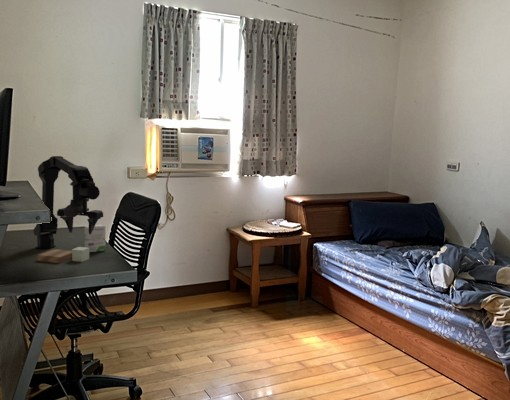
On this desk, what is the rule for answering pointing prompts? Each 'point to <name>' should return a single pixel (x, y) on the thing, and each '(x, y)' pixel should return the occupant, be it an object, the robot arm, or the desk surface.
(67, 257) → the walnut block
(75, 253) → the sage cube
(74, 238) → the desk surface
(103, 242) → the ink box
